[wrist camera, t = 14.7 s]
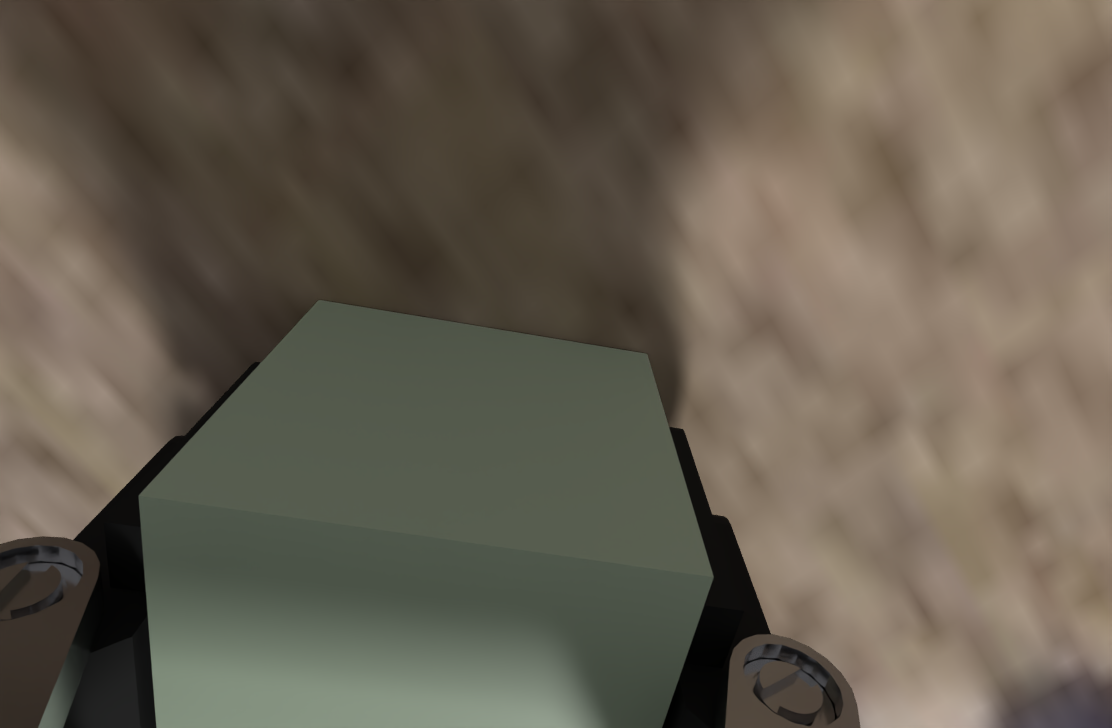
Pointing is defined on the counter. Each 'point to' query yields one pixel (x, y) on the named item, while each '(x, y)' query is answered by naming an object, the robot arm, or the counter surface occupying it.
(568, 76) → the counter surface
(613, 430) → the block
